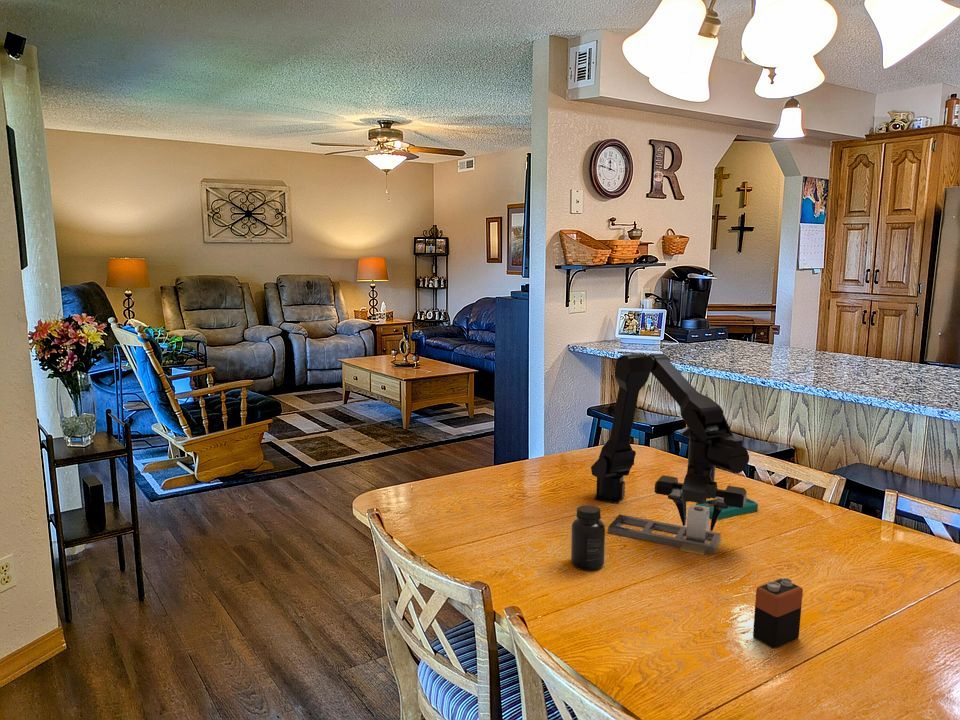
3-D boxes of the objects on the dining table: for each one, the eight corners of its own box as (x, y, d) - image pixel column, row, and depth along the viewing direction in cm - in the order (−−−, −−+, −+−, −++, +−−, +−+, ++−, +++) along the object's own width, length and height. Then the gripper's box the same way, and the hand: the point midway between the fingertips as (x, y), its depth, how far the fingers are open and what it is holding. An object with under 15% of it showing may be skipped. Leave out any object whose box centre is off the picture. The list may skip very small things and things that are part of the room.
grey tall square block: (685, 544, 151) (687, 509, 150) (689, 537, 155) (691, 503, 153) (704, 548, 149) (706, 512, 148) (707, 541, 153) (709, 506, 152)
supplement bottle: (606, 559, 143) (608, 505, 142) (601, 573, 137) (603, 516, 135) (574, 554, 146) (575, 501, 144) (567, 568, 139) (569, 512, 137)
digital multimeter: (692, 512, 172) (693, 501, 171) (736, 503, 178) (737, 492, 177) (714, 522, 165) (714, 511, 165) (758, 513, 171) (759, 501, 171)
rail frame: (605, 535, 156) (606, 529, 156) (619, 520, 165) (619, 514, 164) (712, 557, 145) (712, 550, 145) (720, 539, 154) (720, 533, 154)
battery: (751, 637, 115) (755, 581, 113) (777, 626, 118) (781, 572, 116) (774, 650, 111) (778, 592, 109) (800, 638, 114) (804, 582, 113)
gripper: (649, 463, 146) (646, 532, 149) (742, 477, 138) (736, 550, 140) (662, 450, 156) (659, 515, 159) (749, 462, 147) (744, 531, 150)
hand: (697, 527), depth 152 cm, fingers open, 6 cm apart
